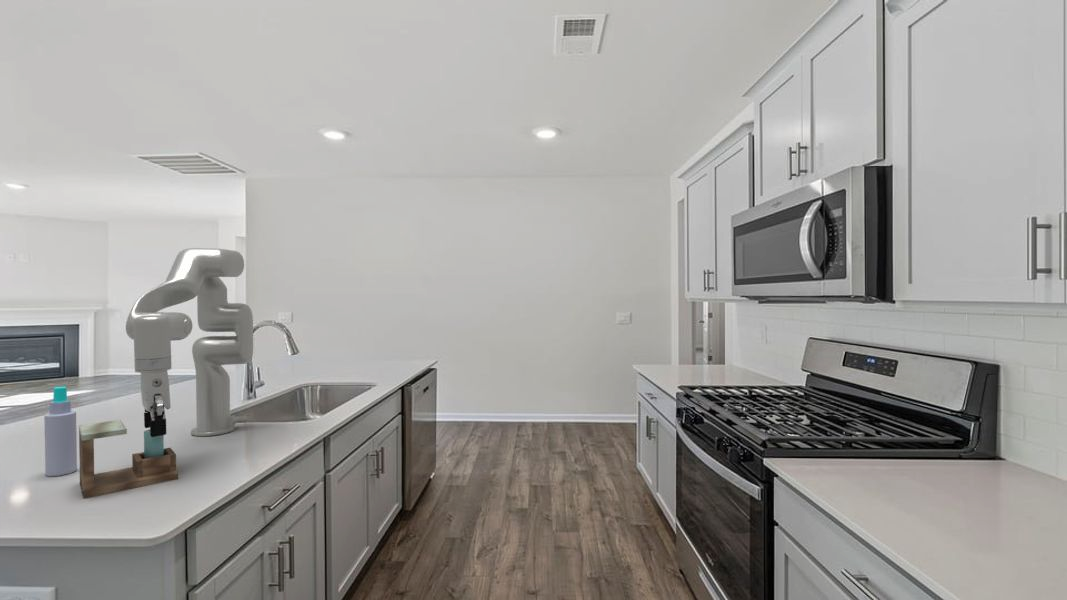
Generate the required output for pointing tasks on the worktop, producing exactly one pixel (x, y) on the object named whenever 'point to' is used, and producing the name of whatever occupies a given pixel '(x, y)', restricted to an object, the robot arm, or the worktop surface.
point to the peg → (153, 445)
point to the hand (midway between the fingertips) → (155, 431)
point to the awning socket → (119, 479)
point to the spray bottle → (60, 436)
